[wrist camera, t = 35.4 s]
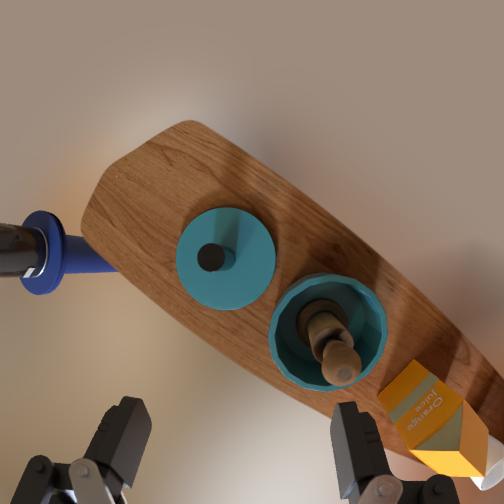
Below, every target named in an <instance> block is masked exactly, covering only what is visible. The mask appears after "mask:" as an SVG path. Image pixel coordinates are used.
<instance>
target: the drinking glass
mask: <svg viewBox="0 0 504 504" xmlns="http://www.w3.org/2000/svg"><path fill="white" fill-rule="evenodd" d="M470 478H471V479H472V480H473V482H474V483H475V484H476V485H477V486H478V487H479V489H480V490H487V489H490V488H491V487H493V486H495V485H496V484H497V483H499V482H500V480H502V479H503V478H504V445H503V444H502V443H501V442H500V441H498V440H497V439H495V438H494V437H492V436H491V435H489V434H488V454H487V466H486V475H485V477H470Z"/></svg>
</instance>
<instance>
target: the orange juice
mask: <svg viewBox="0 0 504 504" xmlns="http://www.w3.org/2000/svg"><path fill="white" fill-rule="evenodd" d="M377 397H378V399H379V400H380V402H381V404H382V405H383V407H384V409H385V410H386V412H387V414H388V416H389V418H390V419H391V421H392V423H393V424H394V425H395V427H396V429H397V430H398V432H399V434H400V436H401V437H402V439H403V441H404V442H405V444H406V446H407V448H408V449H409V451H410V452H411V453H413V454H414V455H415V456H416V457H418V458H419V459H420V460H421V461H423V462H424V463H425V464H426V465H428V466H429V467H430V468H432V469H433V470H434V471H435V472H437V473H438V474H444V475H447V476H461V477H485V475H486V466H487V454H488V432H489V430H488V428H487V427H486V426H485V424H484V423H483V422H482V420H481V419H480V418H479V417H478V415H477V414H476V413H475V411H474V410H473V409H472V408H471V406H470V405H469V404H468V403H467V401H466V400H465V399H464V398H463V399H462V398H461V397H460V396H459V395H458V394H456V393H455V392H454V391H453V390H452V389H450V388H449V387H448V386H447V385H445V384H444V383H443V382H442V381H441V380H440V379H439V378H437V377H436V376H435V375H434V374H432V373H431V372H429V371H428V370H427V369H426V368H425V367H423V366H422V365H421V364H420V363H418V362H417V361H416V360H415V359H413V360H412V361H411V362H410V363H409V364H408V365H407V367H406V368H405V369H404V370H403V371H402V372H401V373H400V374H399V375H398V376H397V377H396V378H395V379H394V380H393V381H392V382H391V383H390V384H389V385H388V386H387V387H386V388H384V389H383V390H382V391H381V392H380V393H379V394H378V395H377Z"/></svg>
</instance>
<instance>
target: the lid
mask: <svg viewBox="0 0 504 504" xmlns="http://www.w3.org/2000/svg"><path fill="white" fill-rule="evenodd" d="M275 265H276V253H275V247H274V243H273V240H272V238H271V235H270V234H269V232H268V230H267V229H266V228H265V226H264V225H263V224H262V223H261V222H260V221H259V220H258V219H257V218H256V217H254V216H253V215H251V214H249V213H248V212H245V211H243V210H240V209H236V208H229V207H224V208H216V209H212V210H209V211H207V212H204V213H202V214H201V215H199V216H198V217H196V218H195V219H194V220H193V221H192V222H191V223H190V224H189V225H188V226H187V227H186V229H185V230H184V232H183V234H182V235H181V238H180V240H179V243H178V246H177V252H176V266H177V271H178V275H179V278H180V280H181V282H182V284H183V286H184V287H185V289H186V290H187V292H188V293H189V294H190V295H191V296H192V297H193V298H194V299H195V300H197V301H198V302H200V303H201V304H203V305H205V306H207V307H210V308H214V309H219V310H233V309H238V308H241V307H244V306H246V305H248V304H250V303H252V302H253V301H255V300H256V299H257V298H258V297H259V296H260V295H261V294H263V292H264V291H265V290H266V288H267V287H268V285H269V284H270V282H271V279H272V277H273V274H274V271H275Z"/></svg>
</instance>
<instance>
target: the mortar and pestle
mask: <svg viewBox="0 0 504 504" xmlns="http://www.w3.org/2000/svg"><path fill="white" fill-rule="evenodd" d="M296 328H297V333H298V336H299V338H300V340H301V341H302V343H303V344H304V345H305V346H307V347H308V348H310V349H312V352H313V355H314V357H315V358H316V359H317V360H318V361H319V362H320V363H322V373H323V376H324V378H325V379H326V380H327V381H328V382H329V383H331V384H333V385H335V386H346V385H349V384H351V383H352V382H354V381H355V380H356V379H357V378H358V376H359V374H360V372H361V367H362V364H361V359H360V357H359V355H358V353H357V352H356V351H355V350H353V346H354V342H353V338H352V336H351V334H350V333H349V332H348V318H347V315H346V313H345V311H344V310H343V308H342V307H341V306H340V305H339V304H337V303H336V302H335V301H333V300H330V299H327V298H317V299H313V300H311V301H309V302H307V303H306V304H305V305H304V306H303V307H302V308H301V310H300V311H299V313H298V316H297V320H296Z"/></svg>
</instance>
